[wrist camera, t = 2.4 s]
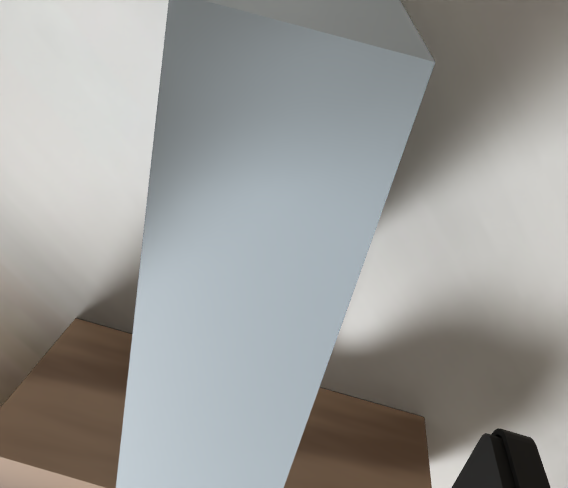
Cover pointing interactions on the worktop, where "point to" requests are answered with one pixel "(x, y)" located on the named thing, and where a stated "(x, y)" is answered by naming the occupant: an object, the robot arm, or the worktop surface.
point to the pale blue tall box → (258, 225)
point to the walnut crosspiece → (110, 411)
